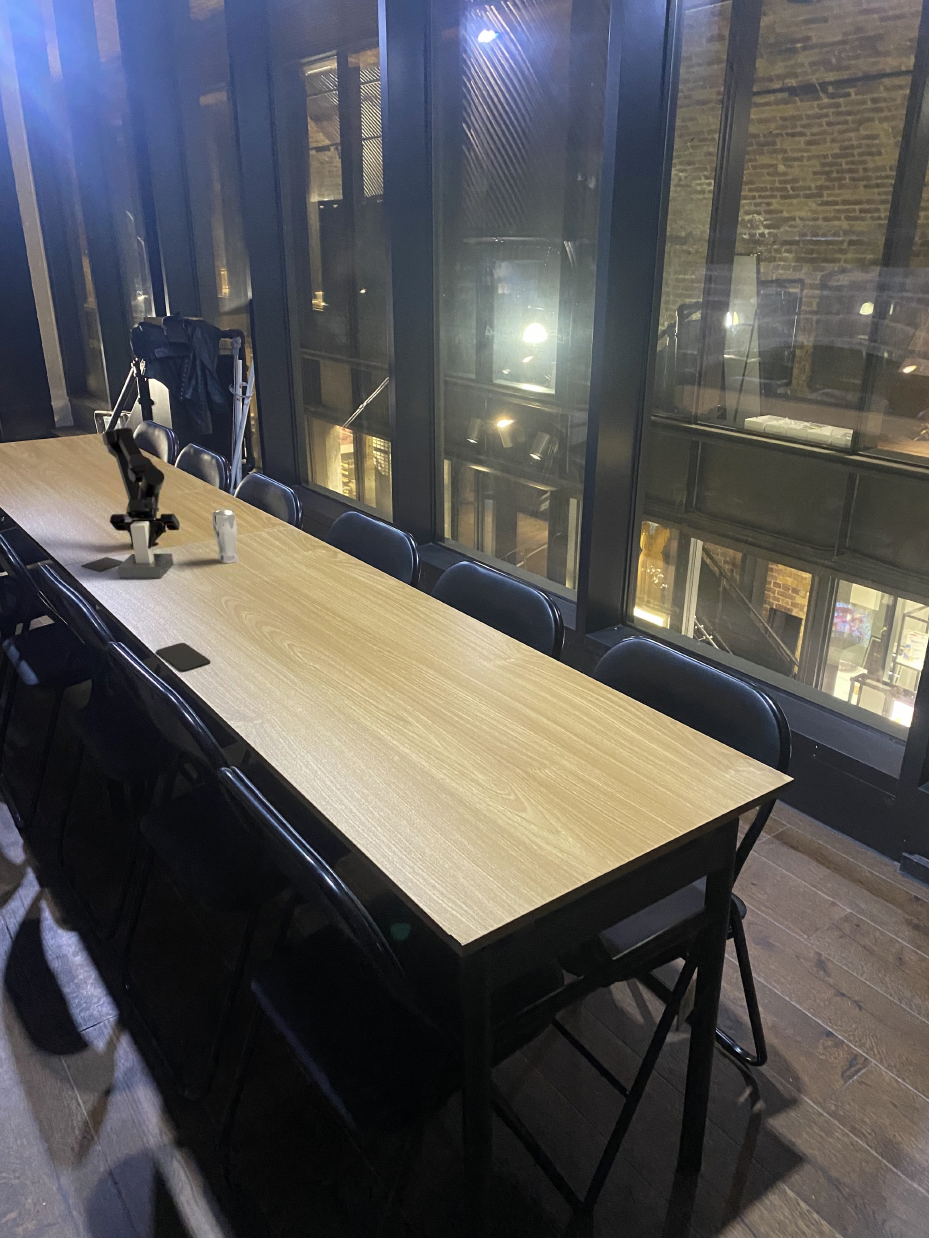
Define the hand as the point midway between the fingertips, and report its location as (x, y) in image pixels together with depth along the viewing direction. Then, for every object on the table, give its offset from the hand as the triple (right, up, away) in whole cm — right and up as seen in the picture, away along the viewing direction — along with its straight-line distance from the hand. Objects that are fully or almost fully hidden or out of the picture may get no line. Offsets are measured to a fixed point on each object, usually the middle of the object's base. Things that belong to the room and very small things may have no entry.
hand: (141, 548), depth 254 cm
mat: (-15, -4, +10) cm, 18 cm away
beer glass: (+22, -3, +13) cm, 26 cm away
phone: (+28, -30, -51) cm, 65 cm away
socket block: (0, -7, +4) cm, 8 cm away
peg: (0, -6, +4) cm, 7 cm away
